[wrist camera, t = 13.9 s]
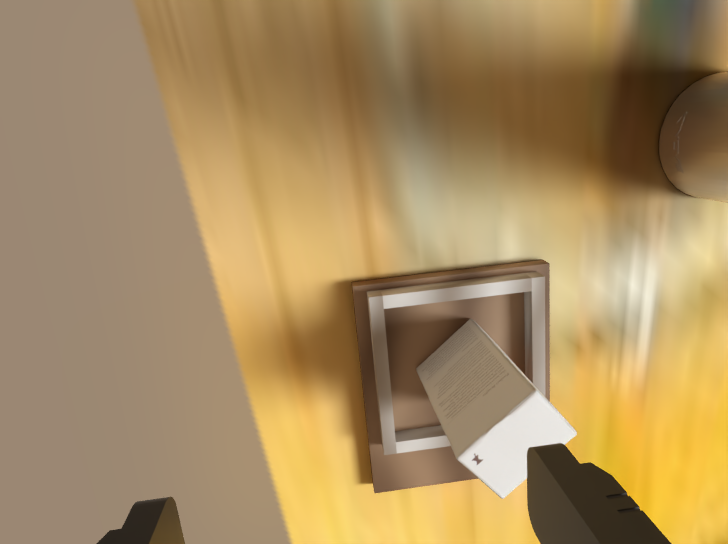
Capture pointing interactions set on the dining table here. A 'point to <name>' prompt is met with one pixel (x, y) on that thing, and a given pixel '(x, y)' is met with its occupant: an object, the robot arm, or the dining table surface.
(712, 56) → the dining table surface
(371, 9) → the dining table surface
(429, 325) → the brown shallow box
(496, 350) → the skincare box
